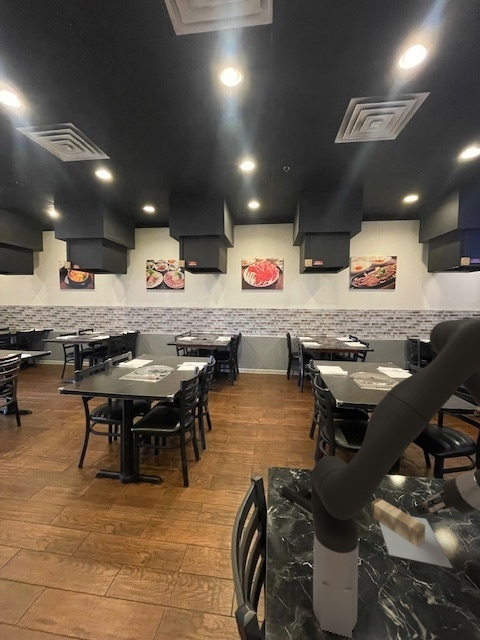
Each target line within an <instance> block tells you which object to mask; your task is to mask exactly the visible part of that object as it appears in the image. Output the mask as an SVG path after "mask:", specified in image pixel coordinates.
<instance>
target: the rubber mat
mask: <svg viewBox="0 0 480 640" xmlns="http://www.w3.org/2000/svg"><path fill="white" fill-rule="evenodd" d="M411 517H412V518H414V519H416V520H418V521H419V522H421V523H423V524H424V525H425V540H424V541H423V542H422V543H421V544H420V545H419V546H417V547H416V546H415V545H413V544H412V543H410V542H409V541H407V540H406V539H404V538H403V537H401V536H400V535H398V534H397V533H395V532H394V531H392V530H391V529H389V528H388V527H386V526H385V525H383V524H382V523H380V522H379V521H378V523H379V527H380V530H381V533H382V537H383V539H384V540H383V541H384V542H385V545H386V549H387V552H388V555H389V556H392V557H396V558H397V557H398V558H403V559H406V560H407V559H408V560H412V561H415V562H421V563H425V564H430V565H435V566H440V567H444V568H450V569H454V567H453V565H452V564H451V562H450V560H449V558H448V557H447V554H446V552H445V551H444V549H443V547H442V546H441V544H440V542H439V540H438V538H437V536H436V534H435V533H434V531H433V529H432V527H431V525H430V524H429V522H428V520H427V518H423V517H422V518H421V517H417V516H411Z"/></svg>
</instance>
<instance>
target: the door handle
mask: <svg viewBox="0 0 480 640" xmlns="http://www.w3.org/2000/svg"><path fill="white" fill-rule="evenodd" d="M281 494H282V495H283V496H284V497H286V498H287V499H289V500H290V501H291V502H293V504H294V505H295V506H297V507H298V508H299V509H301V510H302V511H304V512H305V513H307V514H308V515H310V516H311V517H313V515H312V501H310V500H312V499H311V488H309V489H307V488H303V489H301V490H300V491H297V492H296V491H295V490H293V489H292V488H290V487H288V486H286V485H285V486H283V487H282V489H281Z"/></svg>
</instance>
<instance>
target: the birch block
mask: <svg viewBox="0 0 480 640" xmlns="http://www.w3.org/2000/svg"><path fill="white" fill-rule="evenodd" d="M370 517H372V518H373V519H375V520H376V521H378V523H379V522H380V523H382V524H383V525H385V526H386V527H388V528H389V529H391V530H392V531H394V532H395V533H397V534H398V535H400V536H401V537H403V538H404V539H406V540H407V541H409V542H410V543H412V544H413V545H415V546H416V547H417V546H419V545H420V544H421V543H422V542H423V541H424V540H425V525H424V524H423V523H421V522H419V521H418V520H416V519H414V518H412V517H413V516H412V517H411V516H410V515H409V514H407V513H406V512H404V511H402V510H401V509H399V508H397V507H396V506H394V505H392V504H391V503H388V502H387V501H385V500H384V499H382V498H380V497H378V498H376V499H375V500H373V501H372V502H370Z"/></svg>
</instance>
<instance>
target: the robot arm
mask: <svg viewBox="0 0 480 640" xmlns="http://www.w3.org/2000/svg"><path fill="white" fill-rule="evenodd" d="M429 341H430V342H429V343H430V346H431V347H432V350H433V351H434V352H435V354H436V356H435V357H434V358H433V359H432V361H430V362H429V363H428V364H427V365H426V366H424V367H423V368H421V369H420V370H418V371H417V372H415V373H413V374H412V375H410V376H408V377H406V378H404V379H403V380H401V381H399V382H398V383H397V384H395V385H394V386H393V387H392V388H391V389H390V390H388V391H387V393H386V394H385V395H384V397H383V398H382V399H381V400H380V401H379V402H378V403H377V404H376V406H375V407H374V409H373V410H372V412H371V415H370V417H369V421H368V424H367V427H366V431H365V436H364V438H363V442H362V444H361V446H360V448H359V449H358V451H357V452H356V454H355V455H354V456H353V457H352V459H351V460H350V461H349V462H348V463H347V462H345V460H344V459H342V458H341V457H339V456H336V455H327V456H324V457H322V458H320V459H319V460H318V461H317V462H316V464H314V467H313V469H312V473H311V479H310V481H311V484H310V485H311V486H310V489H311V499H310V500H311V503H312V515H313V516H312V519H313V525H314V526H313V530H314V531H313V575H312V576H313V579H312V584H313V585H312V590H313V591H312V592H313V593H312V594H313V595H312V609H313V613H314V616H315V618H316V620H317V621H318V624H319V626H320V627H319V629H320V628H321V629H320V630H321V631H322V630H326V631H329V632H332V633H331V634H333V633H334V634H333V635H336V634H338V635H337V636H340V635H342V636H341V637H343V636H345V637H344V638H346V637H352V638H353V632H352V630H353V629H354V627H355V625H356V623H358V589H359V588H358V587H359V586H358V582H359V580H358V578H359V576H358V575H359V570H358V569H359V527H358V524H357V521H356V519H355V518H356V517H355V516H357V515H359V514H360V513H361V512H362V511H363V509H364V508H365V507H366V506H367V505H368V503H369V502H370V500H371V499H372V497H373V496H374V494H375V492H376V491H377V489H378V488H379V486H380V485H381V484H382V482H383V480H384V478H385V477H386V476H387V474H388V472H390V470H391V469H392V467H393V466H394V465H395V464H396V462H398V460H399V459H400V458H401V456H402V455H403V454H404V453H405V451H406V450H407V449H408V448H409V447H410V445H411V444H412V443H413V442H414V441H415V440H416V438H418V437H419V435H421V433H422V432H423V431H424V429H425V428H427V426H428V425H429V424H430V422H432V420H433V418H434V417H435V416H436V414H438V412H439V411H440V410H441V409H442V407H444V405H445V404H447V402H448V401H449V400H450V399H451V398H452V397H453V395H454V394H455V393H456V392H457V390H458V389H460V387H461V386H463V387H464V388H465V389H466V391H467V392H468V394H469V395H470V396H471V398H472V399H473V400H474V402H475V403H476V405H477V406H478V407H479V408H480V319H478V318H462V319H452V320H443V321H441V322H438V323H437V324H435V325H434V326H433V328H432V329H431V331H430V334H429ZM413 508H414V511H416V513H417V515H419V516H422V515H425V514H427V515H428V516H438V515H439V514H440V513H442V512H450V511H453V509H455V510H456V511H458V512H459V513H461V514H463V515H467V514H471V513H475V512H478V511H480V468H479V469H476V470H473V471H469V472H465V473H463V474H461V475H459V476H458V475H457V476H456V477H453V478H450V479H447V480H445V481H444V482H443V483H442V490H441V491H440V492H439V493H436V494H434V495H432V496H431V497H429V498H427V499H426V501H423V502H422V503H418V504H416V505H415V506H414V507H413ZM356 626H357V625H356ZM355 628H356V627H355ZM354 630H355V629H354ZM326 631H325V632H326ZM329 632H328V633H329ZM335 633H336V634H335Z"/></svg>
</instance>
